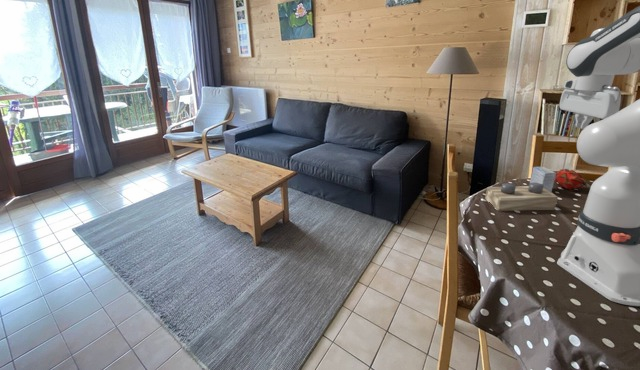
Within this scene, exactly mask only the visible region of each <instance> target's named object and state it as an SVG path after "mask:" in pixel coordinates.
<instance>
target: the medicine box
mask: <svg viewBox="0 0 640 370" xmlns="http://www.w3.org/2000/svg"><path fill="white" fill-rule="evenodd" d="M556 173H557V172H555V171H553V170H552V169H550V168H547V167H545V166H533V167H532V172H531V175H530V179H529V184H530V183H540V184H542V185H544V187H543V188H544V189H546V190H548V191H549V192H551V193H553V192H552V191H553V188H554V184H555V181H554V180H555V176H556Z"/></svg>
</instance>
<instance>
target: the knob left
mask: <svg viewBox="0 0 640 370" xmlns="http://www.w3.org/2000/svg"><path fill="white" fill-rule="evenodd" d="M500 187H501V192H503V193H507V194H514V192H515V188H516V184H513V183H508V182H506V183H505V182H504V183H502V184H501V186H500Z"/></svg>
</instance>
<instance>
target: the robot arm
mask: <svg viewBox="0 0 640 370" xmlns="http://www.w3.org/2000/svg"><path fill="white" fill-rule="evenodd" d="M565 61H566V62H565V64H566V67H567V69H568V70H569V72H570V73H571V74H572V75H574V76H575V78H572V79H569V80H566V81H565V82H564V83H563V88H564V90H563V91H562V93H561V96H560V100H559V109H560V111H561V110H562V111H566V112H571V113H575V114H574V118H575V122H576V123H575V128H577V129H581V132H580V133H579V135H578V138H577V140H576V150H577V153H578V156H580V159H582V160H583V161H584V162H585V163H587V164H589V165H593V166H600V167H605V168H606V167H607V168H609V169H608V171H606V172H605V173H604V174H602V175H601V176H599V177H598V178H596V179H595V180H594V181H593V183H592V184H591V186H590V188H589V192H588V195H587V198H586V201H585V204H584V206H583V207H584V208H582V209H581V211H580V212H579V214H578V217H577V221H576V223H577V227H576V229H575V230H574V231H573V233H572V234H571V236H570V239H569V240H568V243H567V245H566V247H565V249H563V250H562V251H561V253H560V257H559V258H558V260H557V262H556V264H557V265H558V266H559V267H561V268H562V269H563V270H565V271H566V272H568V273H569V274H571V275H572V276H574V277H576V278H577V280H580V281H581V282H582V283H584V284H585V285H587V286H588V287H590V288H591V289H593V290H594V291H596V292H597V293H599V295H601V296H603V297H604V298H606V299H608V300H609V301H611V302H614V303H616V304H617V303H618V304H621V305H626V306H632V307H640V98H639V99H637V100H635V101H633V102H632V103H630V104H629V105H627V106H626V107H624V108H621V110H620V106H621V103H622V96H621V95H622V91H621V89H620V88H619V87H618V86H612V85H613V82H614V78H615V76H616V75H618V76H620V75H621V76H622V75H623V76H624V75H632V74H635V73H637V72H639V71H640V5H638V6H637V7H634V8H633V9H632V10H630V11H628V12H626V13H625V14H623V15H622V16H621V17H619V18H618V19H616V20H615V21H613V22H612V23H610V24H609V25H607V26H603V27H600V28H597V29H595V30H594V31H593V32H591V35H590V36H589V37H586V38H582V39H581V40H579V41H578V42H577V43H576V44H574V46H572V48H571V49H570V50H569V51H568V54H567V57H566V60H565ZM594 118H598V119H601V120H599V121H596V122H593V123H591V122H592V121H593V119H594ZM590 123H591V124H590Z"/></svg>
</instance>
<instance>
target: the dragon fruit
mask: <svg viewBox="0 0 640 370" xmlns="http://www.w3.org/2000/svg"><path fill="white" fill-rule="evenodd" d="M555 173H556V176H555V180H554V183H557V184H558V188H562V187H563V188H565V189H567V190H568V191H571V192H576V191H577V190H576V189H583V188H584V186H585V187H587V184H588V182H587V181H586V179H584V178H583V176H582V174H580V173H577V171H575V170H573V169H569V168H563V169H562V168H561V169H560V170H558V171H556V172H555Z"/></svg>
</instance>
